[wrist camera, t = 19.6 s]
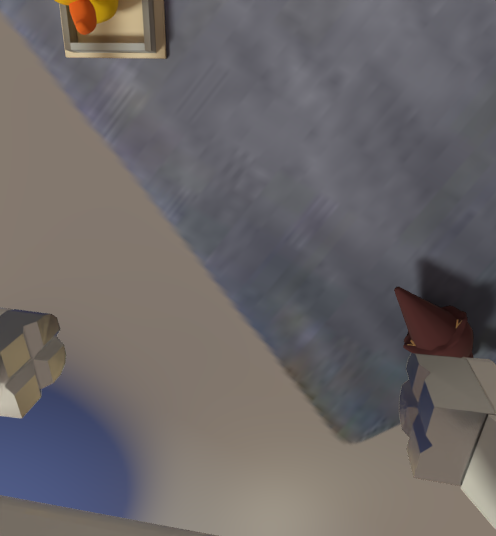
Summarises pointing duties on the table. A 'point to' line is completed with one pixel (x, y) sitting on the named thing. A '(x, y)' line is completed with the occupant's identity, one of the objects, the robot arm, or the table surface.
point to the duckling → (90, 13)
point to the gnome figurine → (434, 327)
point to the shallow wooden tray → (120, 32)
